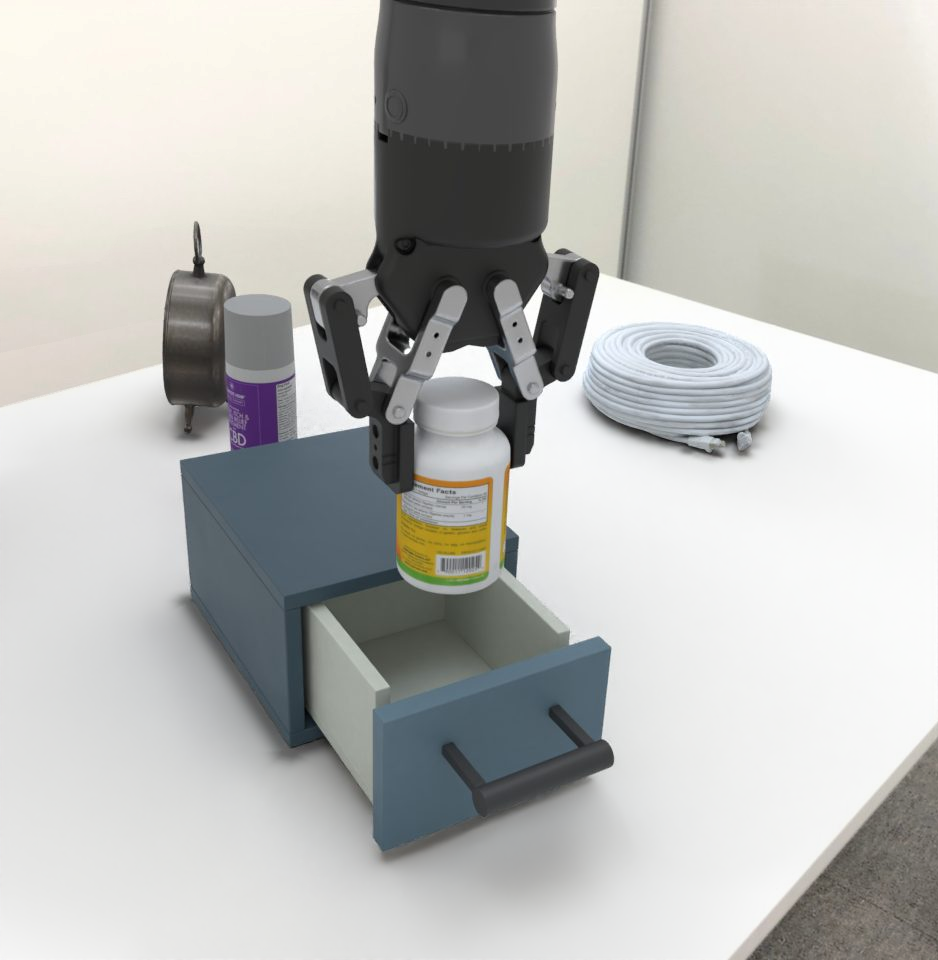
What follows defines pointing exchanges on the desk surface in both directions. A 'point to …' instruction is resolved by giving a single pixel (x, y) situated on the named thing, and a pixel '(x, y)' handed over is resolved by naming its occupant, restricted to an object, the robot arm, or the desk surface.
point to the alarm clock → (195, 336)
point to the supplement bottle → (455, 490)
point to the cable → (679, 382)
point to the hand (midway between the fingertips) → (452, 472)
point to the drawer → (453, 700)
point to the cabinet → (287, 552)
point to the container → (260, 370)
